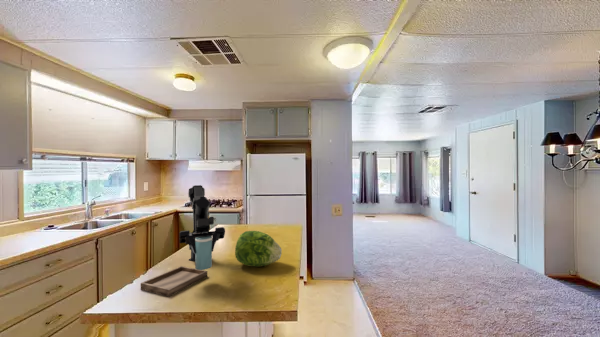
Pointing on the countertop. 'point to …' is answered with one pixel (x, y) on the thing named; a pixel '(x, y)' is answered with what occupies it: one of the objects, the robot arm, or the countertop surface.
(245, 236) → the lettuce
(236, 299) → the countertop surface
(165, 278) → the tray
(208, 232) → the robot arm
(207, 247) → the cup
